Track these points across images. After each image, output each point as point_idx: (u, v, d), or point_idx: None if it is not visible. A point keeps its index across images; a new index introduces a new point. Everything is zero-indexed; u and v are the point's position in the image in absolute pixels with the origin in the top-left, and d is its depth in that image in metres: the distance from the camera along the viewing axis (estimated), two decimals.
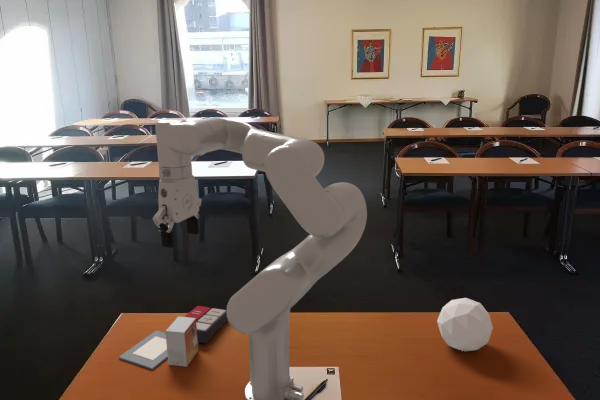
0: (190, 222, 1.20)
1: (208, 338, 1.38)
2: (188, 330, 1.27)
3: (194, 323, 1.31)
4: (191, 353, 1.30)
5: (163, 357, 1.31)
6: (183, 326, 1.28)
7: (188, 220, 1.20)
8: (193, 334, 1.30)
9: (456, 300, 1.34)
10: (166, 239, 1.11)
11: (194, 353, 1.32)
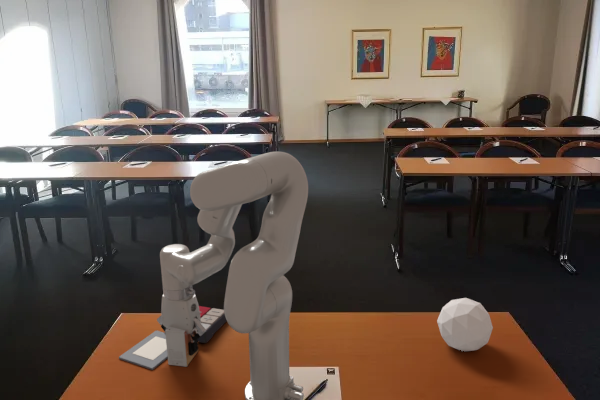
0: None
1: (208, 338, 1.38)
2: None
3: None
4: None
5: (163, 357, 1.31)
6: None
7: None
8: None
9: (456, 300, 1.34)
10: (197, 345, 1.29)
11: (194, 353, 1.32)
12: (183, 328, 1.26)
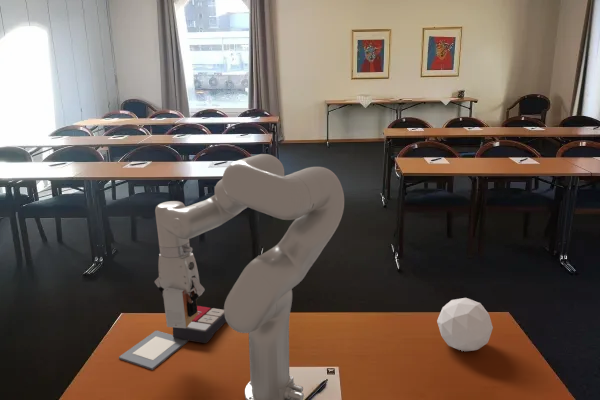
0: None
1: (208, 338, 1.38)
2: None
3: None
4: None
5: (163, 357, 1.31)
6: None
7: None
8: (191, 295, 1.27)
9: (456, 300, 1.34)
10: (196, 306, 1.25)
11: (193, 316, 1.28)
12: (181, 288, 1.22)
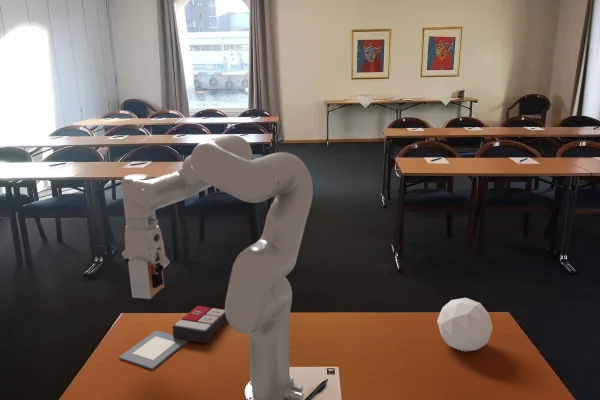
0: None
1: (208, 338, 1.38)
2: None
3: None
4: None
5: (163, 357, 1.31)
6: None
7: None
8: (157, 267, 1.29)
9: (456, 300, 1.34)
10: (161, 278, 1.28)
11: (159, 287, 1.31)
12: (146, 259, 1.25)
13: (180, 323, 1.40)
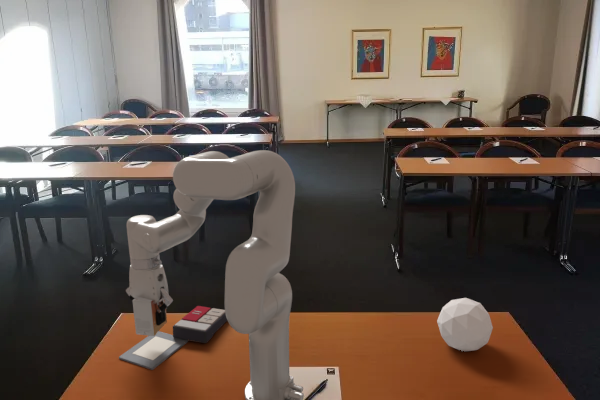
0: None
1: (208, 338, 1.38)
2: None
3: None
4: None
5: (163, 357, 1.31)
6: None
7: None
8: None
9: (456, 300, 1.34)
10: (164, 315, 1.31)
11: (162, 324, 1.34)
12: (150, 298, 1.28)
13: (180, 323, 1.40)
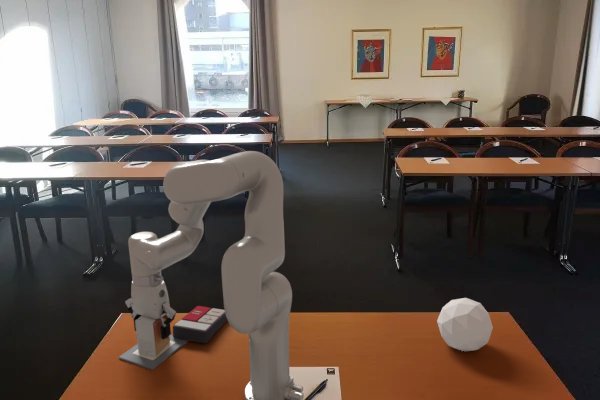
0: None
1: (208, 338, 1.38)
2: (157, 320, 1.30)
3: None
4: (161, 344, 1.34)
5: (163, 357, 1.31)
6: None
7: None
8: None
9: (456, 300, 1.34)
10: (169, 329, 1.32)
11: (164, 344, 1.35)
12: (151, 314, 1.29)
13: (180, 323, 1.40)
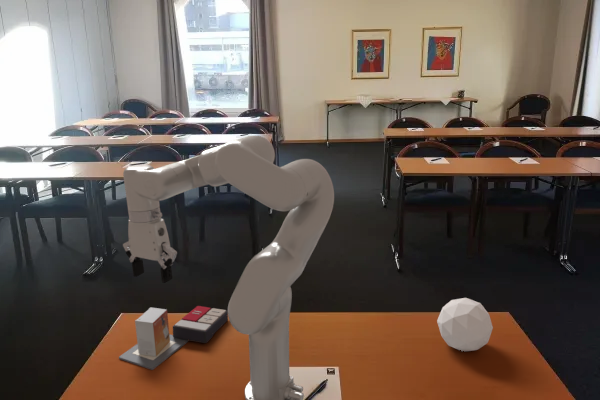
0: (138, 264, 1.24)
1: (208, 338, 1.38)
2: (157, 320, 1.30)
3: (164, 314, 1.34)
4: (161, 344, 1.34)
5: (163, 357, 1.31)
6: (153, 317, 1.31)
7: (136, 263, 1.24)
8: (163, 324, 1.34)
9: (456, 300, 1.34)
10: (170, 272, 1.21)
11: (164, 344, 1.35)
12: (150, 255, 1.18)
13: (180, 323, 1.40)
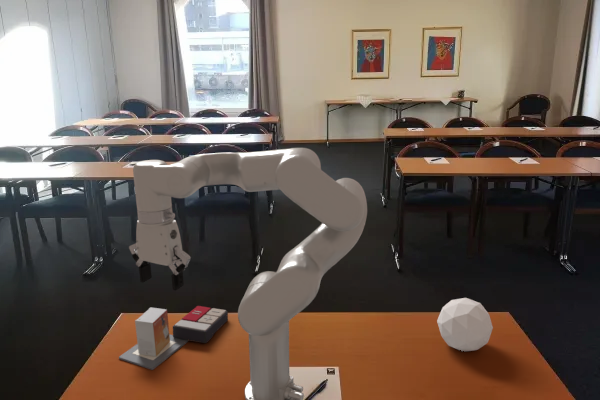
0: (145, 268, 1.13)
1: (208, 338, 1.38)
2: (157, 320, 1.30)
3: (164, 314, 1.34)
4: (161, 344, 1.34)
5: (163, 357, 1.31)
6: (153, 317, 1.31)
7: (143, 268, 1.13)
8: (163, 324, 1.34)
9: (456, 300, 1.34)
10: (182, 278, 1.10)
11: (164, 344, 1.35)
12: (161, 259, 1.07)
13: (180, 323, 1.40)
